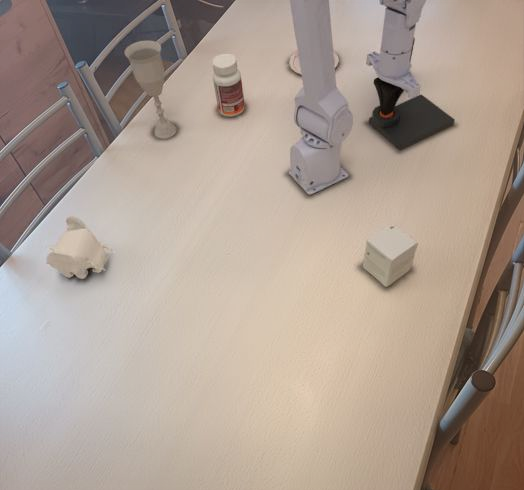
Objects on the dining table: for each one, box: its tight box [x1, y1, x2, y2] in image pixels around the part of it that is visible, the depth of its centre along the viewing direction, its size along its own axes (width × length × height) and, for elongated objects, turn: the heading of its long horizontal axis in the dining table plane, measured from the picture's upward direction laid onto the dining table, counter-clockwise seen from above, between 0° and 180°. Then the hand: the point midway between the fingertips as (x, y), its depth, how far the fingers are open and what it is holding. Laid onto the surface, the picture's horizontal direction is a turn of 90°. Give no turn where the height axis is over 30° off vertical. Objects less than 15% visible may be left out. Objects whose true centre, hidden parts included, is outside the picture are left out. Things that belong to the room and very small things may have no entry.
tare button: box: [380, 111, 393, 118], centre depth 106 cm, size 3×3×2 cm
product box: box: [362, 222, 419, 288], centre depth 85 cm, size 6×6×7 cm
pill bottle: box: [212, 53, 245, 118], centre depth 110 cm, size 6×6×11 cm
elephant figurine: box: [45, 215, 116, 280], centre depth 90 cm, size 10×12×9 cm
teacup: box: [288, 50, 340, 76], centre depth 119 cm, size 12×12×6 cm
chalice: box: [124, 40, 178, 139], centre depth 105 cm, size 7×7×18 cm
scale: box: [368, 94, 455, 151], centre depth 106 cm, size 14×11×3 cm
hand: (386, 112), depth 105 cm, fingers closed, pressing on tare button
